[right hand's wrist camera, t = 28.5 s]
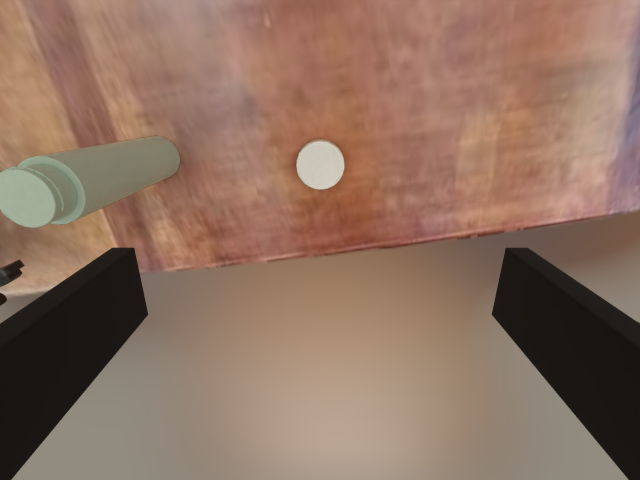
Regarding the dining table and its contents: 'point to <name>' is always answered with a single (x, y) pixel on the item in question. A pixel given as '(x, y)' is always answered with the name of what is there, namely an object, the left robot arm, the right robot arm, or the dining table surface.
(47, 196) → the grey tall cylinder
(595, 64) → the dining table surface
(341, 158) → the lid
